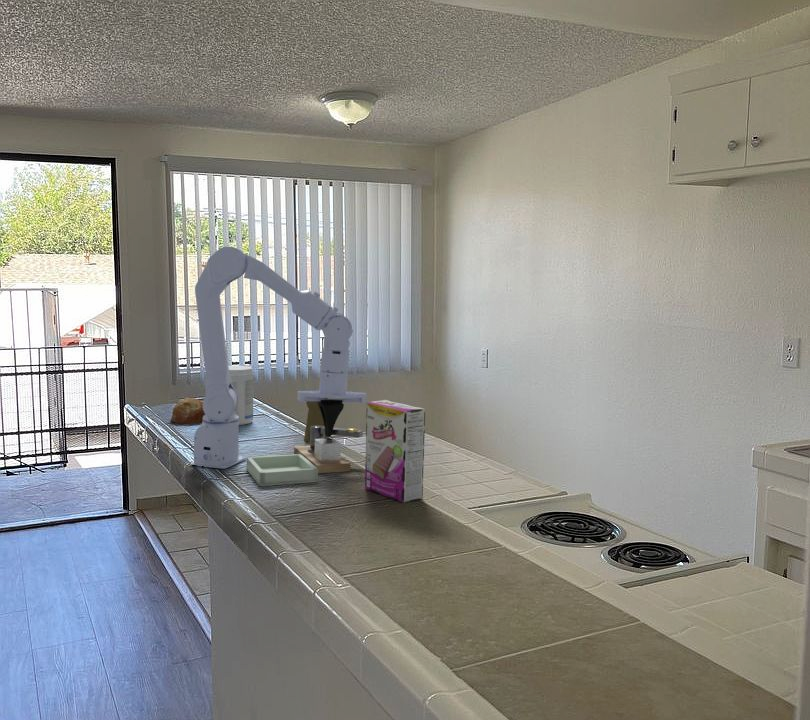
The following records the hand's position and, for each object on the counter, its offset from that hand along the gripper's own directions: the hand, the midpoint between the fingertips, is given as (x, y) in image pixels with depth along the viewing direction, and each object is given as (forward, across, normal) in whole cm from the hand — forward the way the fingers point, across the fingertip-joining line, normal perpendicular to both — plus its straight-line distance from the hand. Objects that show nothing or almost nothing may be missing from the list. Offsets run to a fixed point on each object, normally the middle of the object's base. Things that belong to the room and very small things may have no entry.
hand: (329, 435), depth 159 cm
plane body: (+6, -1, 0) cm, 6 cm away
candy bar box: (+6, +4, -27) cm, 27 cm away
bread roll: (+7, -21, +54) cm, 59 cm away
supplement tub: (+7, -11, +48) cm, 50 cm away
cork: (+6, +4, +22) cm, 23 cm away
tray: (+6, -12, -8) cm, 16 cm away
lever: (+3, +2, +1) cm, 4 cm away
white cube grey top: (+4, -1, -4) cm, 6 cm away
